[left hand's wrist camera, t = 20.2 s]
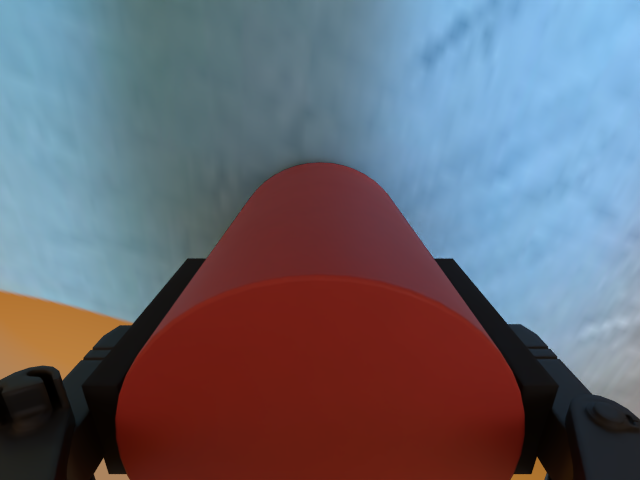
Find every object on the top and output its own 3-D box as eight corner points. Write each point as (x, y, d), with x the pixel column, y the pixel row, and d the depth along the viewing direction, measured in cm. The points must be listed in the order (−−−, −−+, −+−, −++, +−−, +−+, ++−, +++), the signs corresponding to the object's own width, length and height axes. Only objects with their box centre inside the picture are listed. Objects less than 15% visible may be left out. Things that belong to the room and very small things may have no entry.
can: (219, 175, 17) (41, 308, 6) (397, 149, 17) (545, 244, 6) (256, 324, 20) (181, 588, 9) (407, 306, 20) (514, 559, 9)
